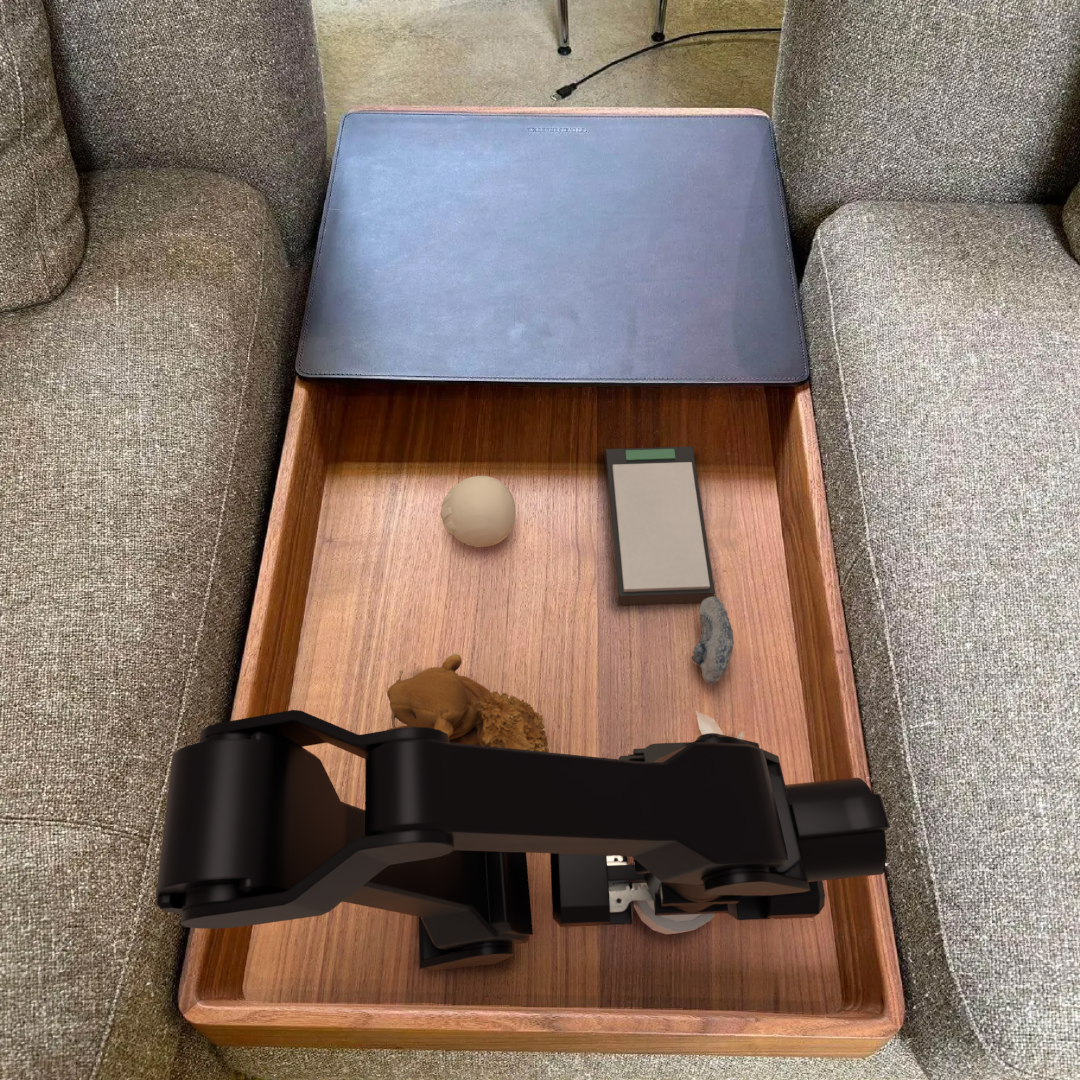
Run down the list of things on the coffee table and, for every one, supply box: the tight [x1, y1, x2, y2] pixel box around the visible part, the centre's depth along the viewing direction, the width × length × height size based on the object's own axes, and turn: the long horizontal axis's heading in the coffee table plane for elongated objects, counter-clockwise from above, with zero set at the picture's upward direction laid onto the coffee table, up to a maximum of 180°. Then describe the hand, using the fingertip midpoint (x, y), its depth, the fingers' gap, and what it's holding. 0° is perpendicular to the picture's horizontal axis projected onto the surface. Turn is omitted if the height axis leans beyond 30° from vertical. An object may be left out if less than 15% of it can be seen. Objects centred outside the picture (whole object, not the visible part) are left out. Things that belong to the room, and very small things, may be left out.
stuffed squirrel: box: [386, 653, 549, 752], centre depth 72 cm, size 10×14×13 cm
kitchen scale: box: [604, 445, 716, 606], centre depth 88 cm, size 17×9×3 cm, turn 2°
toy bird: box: [695, 710, 745, 740], centre depth 75 cm, size 8×5×5 cm, turn 7°
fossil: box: [691, 595, 735, 686], centre depth 80 cm, size 8×4×5 cm, turn 176°
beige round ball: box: [439, 475, 517, 548], centre depth 86 cm, size 7×7×7 cm
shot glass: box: [632, 862, 717, 935], centre depth 68 cm, size 7×7×7 cm
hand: (669, 893), depth 70 cm, fingers closed on shot glass, 6 cm apart
